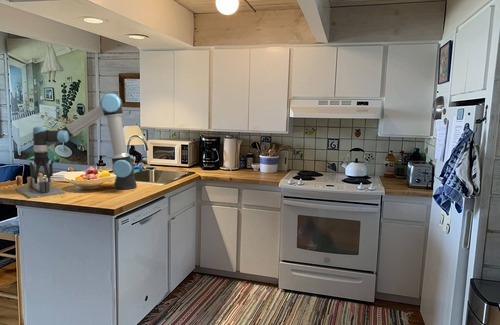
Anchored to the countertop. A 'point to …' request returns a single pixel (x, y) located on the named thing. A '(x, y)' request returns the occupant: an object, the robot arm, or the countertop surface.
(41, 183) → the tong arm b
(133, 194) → the countertop surface
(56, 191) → the cutting board
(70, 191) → the countertop surface
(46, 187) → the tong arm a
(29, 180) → the pivot block
